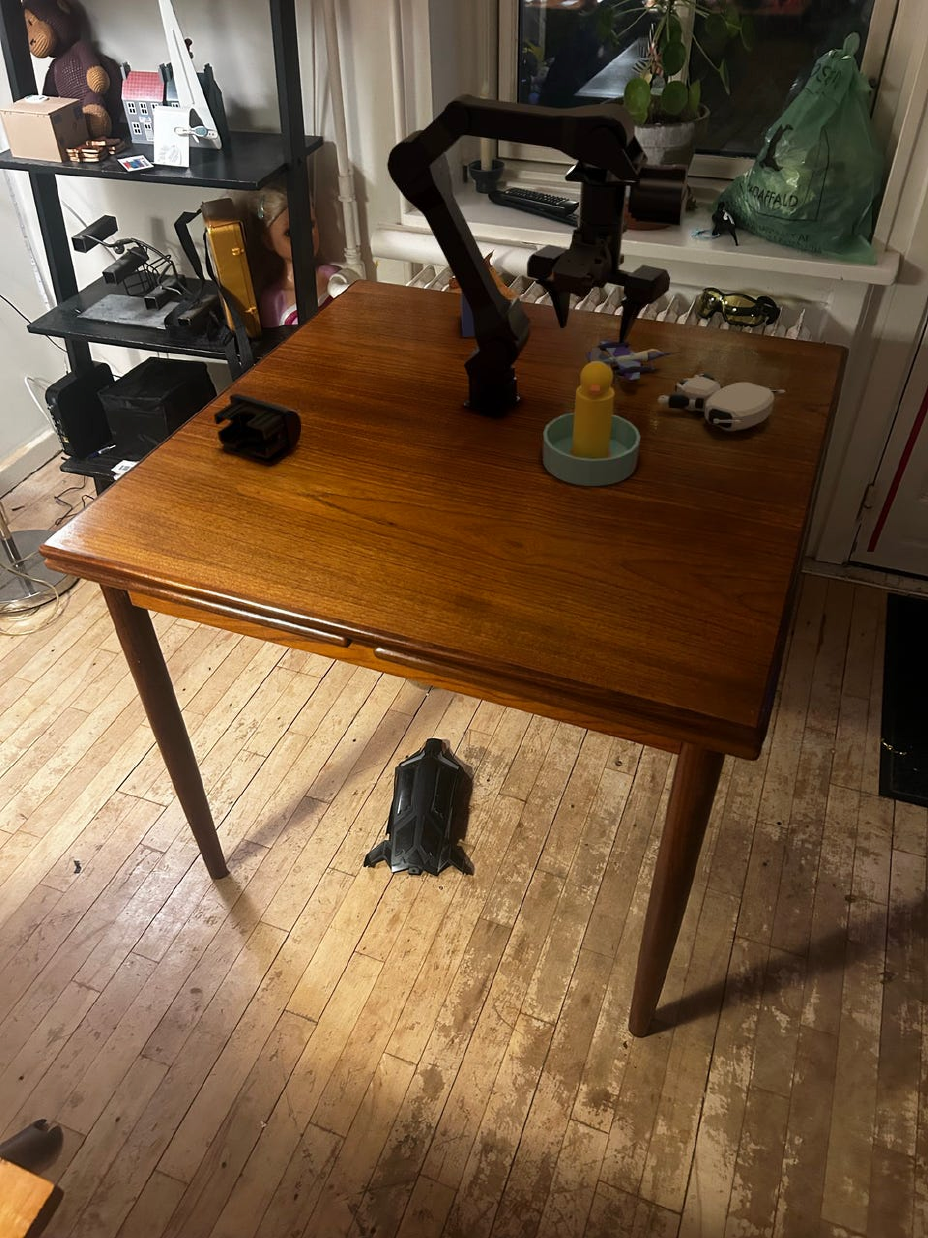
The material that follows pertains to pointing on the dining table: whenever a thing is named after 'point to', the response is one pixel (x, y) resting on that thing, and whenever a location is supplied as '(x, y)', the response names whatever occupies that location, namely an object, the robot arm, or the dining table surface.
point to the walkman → (466, 318)
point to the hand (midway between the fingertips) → (592, 334)
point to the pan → (586, 469)
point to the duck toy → (593, 412)
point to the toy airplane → (624, 358)
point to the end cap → (258, 429)
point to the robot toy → (723, 401)
